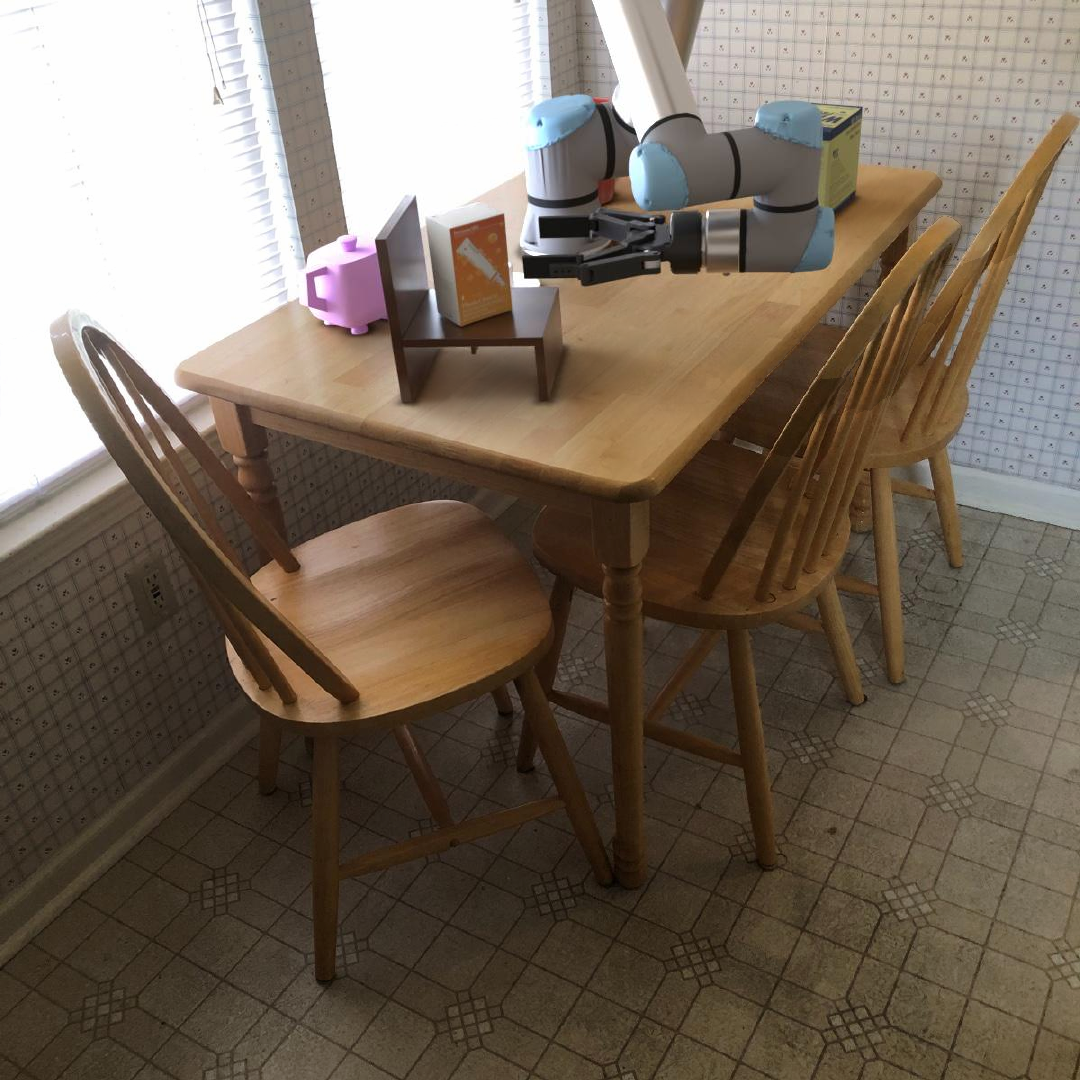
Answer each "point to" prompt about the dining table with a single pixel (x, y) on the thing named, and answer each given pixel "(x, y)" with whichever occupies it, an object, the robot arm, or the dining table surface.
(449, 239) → the small box
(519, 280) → the candle holder
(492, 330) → the wooden toy chair
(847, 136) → the protein box
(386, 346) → the dining table surface
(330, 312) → the teapot
